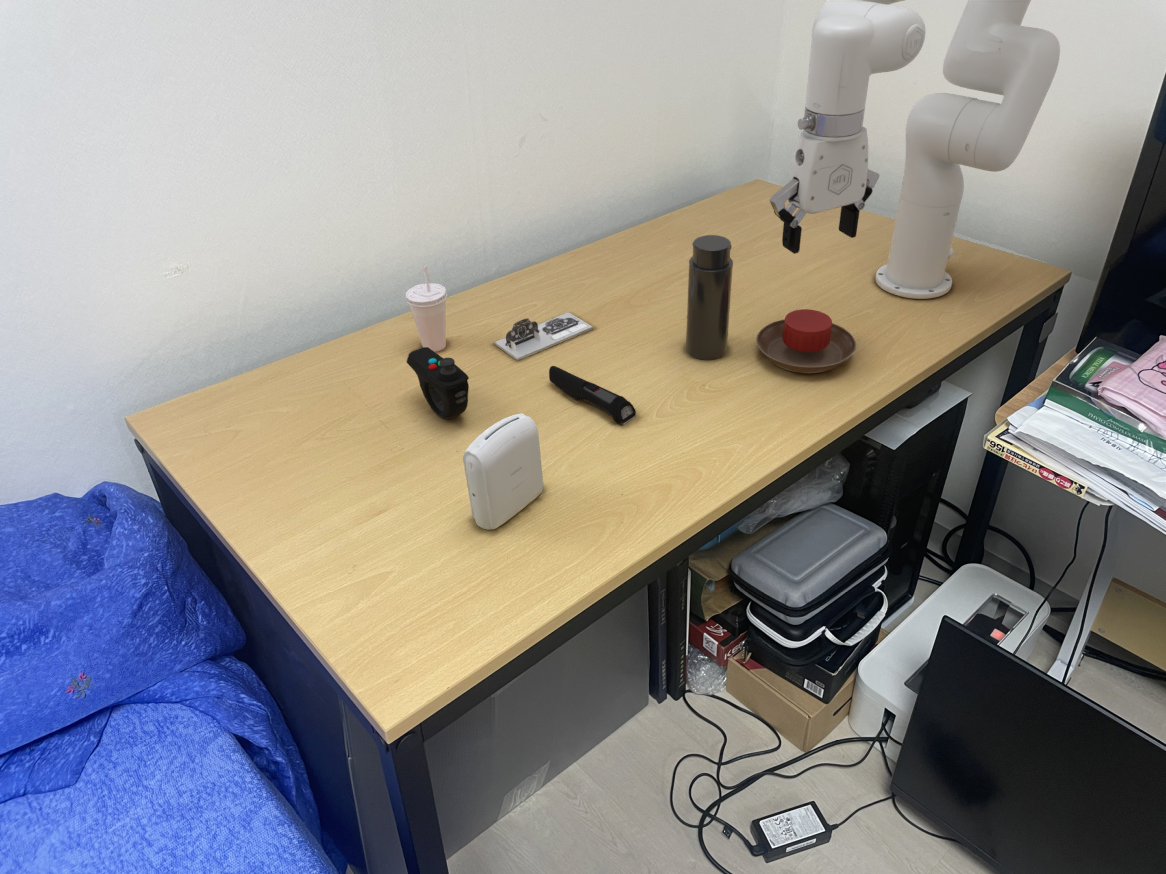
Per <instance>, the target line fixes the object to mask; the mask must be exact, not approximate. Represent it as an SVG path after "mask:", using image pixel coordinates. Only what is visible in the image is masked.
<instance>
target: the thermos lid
mask: <svg viewBox="0 0 1166 874" xmlns="http://www.w3.org/2000/svg"><path fill="white" fill-rule="evenodd" d="M784 319H785V321H784V326H783V335H782V339H783V342H784V344H785V345H786V346H788V347H789V348H791V349H794V350H797V351H801V352H816V351H820V350H823V349H825V348H826V347H827V346H828V345H829V343H830V336H831V330H832V323H833V319H832V318H831V317H830V316H829V315H828V314H826V313H825V312H822V311H820V310H817V309H811V308H810V309H808V308H803V309H802V308H801V309H796V310H792V311H790V312H788V313H787V314H786V315H785V317H784Z"/></svg>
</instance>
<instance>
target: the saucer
mask: <svg viewBox="0 0 1166 874" xmlns="http://www.w3.org/2000/svg"><path fill="white" fill-rule="evenodd" d="M784 321H785V318H784V319H779V320H776V321H773V322H769V324H767V325H765V326H764V327H762V328H761V329H760V330H759V332H758V333H757V335H756V345H757V347H758V349H759V350H760V352H761V353H762V355H763V356H764V357H765V358H766V359H767V360H768V361H770V362H771V363H773V364H774V365H776V366H777V367H779V368H781V369H784V370H785V371H789V372H793V373H796V374H797V373H798V374H818V373H824V372H829V371H830V370H833V369H835V368H837V367H839V366H841V365H843V364H844V363H845V362H847V361H848V360H849V359H850V358H851V357H852V356H853V355H854V353H855V352H856V350H857V342H856V339H855V338H854V336H853V335H852V333H850V332H849V331H848V330H847V329H845V328H844V327H841V326H840V325H839V324H835V323H833V322H832V330H831V336H830V343H829V345H828V346H827V347H826V348H825V349H823V350H820V351H816V352H801V351H797V350H794V349H791V348H789V347H788V346H786V345H785V344H784V342H783V339H782V335H783V326H784Z"/></svg>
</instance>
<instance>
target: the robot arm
mask: <svg viewBox="0 0 1166 874" xmlns="http://www.w3.org/2000/svg"><path fill="white" fill-rule="evenodd" d="M904 1H905V0H825V1H824V3H823V4H822V5H821V7H820V9H819V11H818V12H817V14H816V17H815V19H814V22H813V25H812V29H811V41H810V43H811V44H810V54H809V63H808V72H807V73H808V75H807V84H806V95H805V104H804V105H805V106H804V113H803V114H804V115H803V118H799V119H798V120H797V128H798V129H799V130H802V131H800V132H799V134H798V137H797V140H796V143H795V147H794V151H793V155H792V160H791V165H790V166H791V167H790V171H789V177H788V182H787V183H786V184H785V185H783V187H781V188H780V189H778V190H777V191H776V192H775V193H774V194H772V196H770V198H769V203H770V205H771V208H772V209H773V214H774V215H775V216H776V217H778V218H779V219H780V221H781V222H783V226H782V239H781V242H782V247H783V248H785V249H786V250H788V251H789V252H791V253H792V254H794V255H795V254H798V253H799V252H800V249H801V248H800V247H801V241H802V230H803V229H802V226H801V225H800V223H801V221H803V219H804V217H805V216H806V215H807V214H809V215H814V214H819V213H823V212H826V211H831V210H834V209H838V208H840V213H839V214H840V215H839V222H838V231H839V232H840V233H842V234H844V235H846V236H847V237H849V238H851V239H853V238H855V237H856V236H857V233H858V232H857V231H858V225H859V224H858V223H859V218H860V212H861V211H862V210H863V209H864V208H865V206H866V201H867V200H868V199H869V198H870V197H871V195H872V194H873V192H874V191H873V189H874V188H875V186H876V184H877V182H878V180H879V179H880V173H878V172H876V171H874V170H872V169H869V138H868V137H869V136H868V130H867V128H866V127H865V126H863V125H864V117H865V111H866V105H867V96H868V89H869V82H870V77H871V76H872V75H874V74H875V75H876V74H882V73H890V72H895V71H898V70H901V69H902V68H903V69H904V67H906V66H908V65H909V64H911V63H912V62H913V61H914V60H915V59H916V58H917V57H918V56H919V54H920V52H921V50H922V48H923V46H924V43H925V41H926V40H925V39H926V24H925V21H924V19H923V18H922V16H921V15H920V14H919V13H918V12H917V11H915V10H913V9H912V8H909V7H905V6H899V5H894V4H895V3H898V2H904ZM1031 1H1032V0H967V2H966V4H965V7H964V10H963V11H962V14H961V17H960V20H959V21H958V24H957V25H956V28H955V31H954V34H953V35H952V38H951V40H950V43H949V45H948V48H947V50H946V53H945V57H944V60H943V64H942V74H943V77H944V79H945V80H946V81H947V82H948V83H950V84H952V85H954V86H957V87H960V88H962V89H963V88H964V89H966V90H967V89H968V90H971V91H972V90H973V91H976V92H977V91H979V92H984V93H989V94H995V95H1000V96H1003V97H1002V101H1001V102H994V101H989V100H985V99H984V100H983V99H979V98H976V97H971V96H966V95H960V94H956V93H950V92H949V93H948V92H933V93H929V94H926V95H924V96H922V97H921V98H920V99H918V100H917V101H916V102H915V103H914V105H913V106H912V107H911V109H910V111H909V113H908V116H907V118H906V119H907V120H906V124H905V125H906V126H905V160H904V161H905V162H904V168H903V169H904V170H903V176H902V183H901V189H900V194H899V198H898V204H897V208H896V214H895V220H894V225H893V230H892V231H893V232H892V235H891V242H890V247H889V252H888V257H887V261H886V262H887V263H885V264H883V265H882V266H880V267H879V268H878V269H877V270H876V273H875V282H876V284H877V286H878V287H880V289H882V290H884V291H885V292H887V293H889V294H892V295H894V296H898V297H902V298H906V299H914V300H916V299H917V300H928V299H934V298H938V297H942V296H944V295H945V294H948V292H950V291H951V288H952V286H953V285H952V284H953V279H952V277H951V275H950V274H949V273H948V272H947V271H946V269H947V268H946V267H947V264H948V260H950V259H951V258H953V257H954V255H955V251H954V249H953V248H952V243H953V238H954V234H955V229H956V225H957V220H958V216H959V213H960V208H961V203H962V199H963V195H964V191H965V190H964V189H965V181H964V175H963V171H962V168H961V166H964V167H969V168H974V169H977V170H982V171H987V172H993V173H994V172H1002V171H1005V170H1006V169H1008V168H1009V167H1011V165H1012V164H1014V162H1015V161H1016V159H1017V158H1018V156H1019V155H1020V152H1021V151H1022V149H1023V147H1024V145H1025V143H1026V140H1027V139H1028V136H1029V134H1030V132H1031V129H1032V127H1033V125H1034V123H1035V120H1036V118H1037V116H1038V114H1039V113H1040V111H1041V108H1042V106H1043V103H1044V101H1045V99H1046V96H1047V94H1048V92H1049V90H1050V87H1051V85H1052V83H1053V81H1054V78H1055V76H1056V73H1057V69H1058V67H1059V63H1060V55H1061V45H1060V42H1059V39H1058V37H1057V36H1056V35H1055V34H1054V33H1053V32H1052V31H1049V30H1046V29H1043V28H1039V27H1032V26H1025V25H1022V23H1023V20H1024V17H1025V15H1026V13H1027V11H1028V8H1029V6H1030V4H1031ZM892 4H893V5H892ZM787 201H788V202H789V203H788V204H787V206H786V205H785V204H786V202H787ZM793 214H794V215H793Z"/></svg>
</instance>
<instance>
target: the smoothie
mask: <svg viewBox="0 0 1166 874" xmlns="http://www.w3.org/2000/svg"><path fill="white" fill-rule="evenodd" d="M422 268H423V275H424V281H425V283H420V284H416V285H413V286H412V287H410V288H409V289H407V291H406V292H405V302H406V303H407V304H408V305H409V307H410V311H411V313H412V318H413V321H414V323H415V327H416V331H417V333H418V335H419V339H420V342H421V345H422V348H423V347H428V348H430V349H431V350H433V351H434V352H435V353H437V352H439V351H442V350H444V349H445V348H446V346H447V330H446V329H447V324H446V323H447V322H446V321H447V319H446V317H447V316H446V312H447V311H446V299H447V298H448V292H447V289H446V287H445V286H443V285H441V284H439V283H434V282H433V283H432V282H430V278H429V272H428V266H427V265H424V266H422Z"/></svg>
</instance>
